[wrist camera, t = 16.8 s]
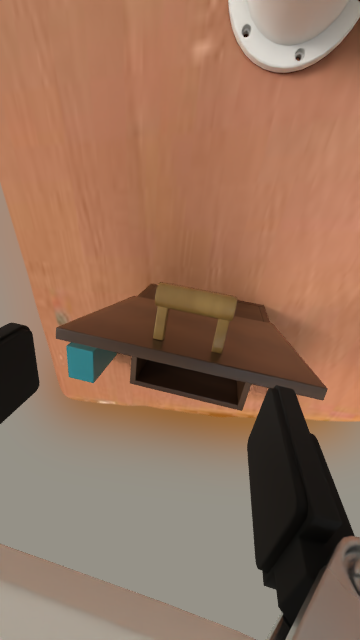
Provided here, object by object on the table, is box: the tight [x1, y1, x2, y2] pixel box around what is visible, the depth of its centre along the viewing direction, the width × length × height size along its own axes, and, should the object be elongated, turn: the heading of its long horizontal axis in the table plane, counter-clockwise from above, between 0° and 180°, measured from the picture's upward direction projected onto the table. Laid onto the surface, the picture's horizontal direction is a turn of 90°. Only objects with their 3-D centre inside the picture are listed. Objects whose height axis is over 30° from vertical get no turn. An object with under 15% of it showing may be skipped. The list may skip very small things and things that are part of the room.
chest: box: [130, 284, 270, 411], centre depth 34 cm, size 14×17×7 cm
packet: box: [66, 342, 117, 383], centre depth 38 cm, size 6×4×8 cm
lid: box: [56, 282, 327, 400], centre depth 21 cm, size 14×17×5 cm
